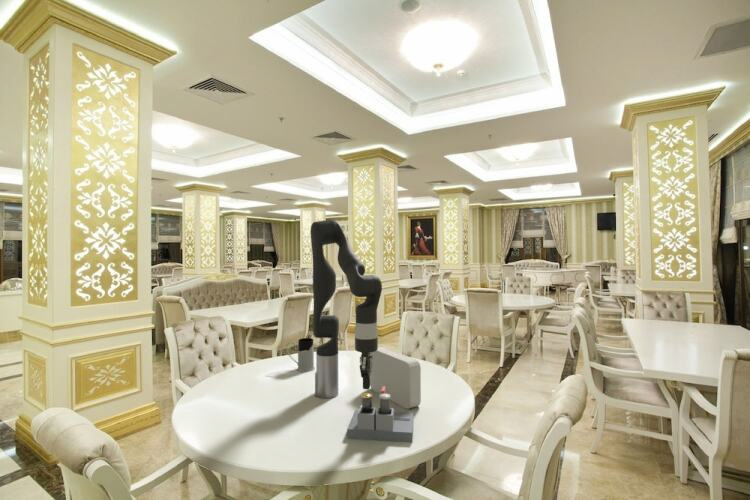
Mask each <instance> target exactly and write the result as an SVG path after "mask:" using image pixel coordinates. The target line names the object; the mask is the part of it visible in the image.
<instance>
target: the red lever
mask: <svg viewBox="0 0 750 500" xmlns="http://www.w3.org/2000/svg"><path fill="white" fill-rule="evenodd" d="M381 394H386V386H383V387H382V391H381ZM381 394H380V395H381Z"/></svg>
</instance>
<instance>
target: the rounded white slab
mask: <svg viewBox="0 0 750 500" xmlns="http://www.w3.org/2000/svg"><path fill="white" fill-rule="evenodd" d="M371 355H373V360H372V369H371V370H372V372H371V376H370V388H371V389H372V391H374V392H376V393H378V395H381V391H382V387H383V386H386V394H389V395H390V396H391V398H390V401H392V402H394V403H395V402H396V403H395V404H397V403H398V404H397V405H399V406H401V407H402V408H404V409H407V410H409V409H414V408H417V407H419V406H420V405H421V401H422V400H421V398H422V397H421V396H422V395H421V394H422V393H421V392H422V391H421V389H422V388H421V384H422V383H421V375H422V373H421V371H422V370H421V369H422V368H421V363H420V362H419V361H418V360H417V359H415V358H413V357H410V356H407V355H405V354H402V353H400V352H397V351H394V350H391V349H388V348H386V347H383V346H382V347H379V346H378V349H377V351H375V352H371Z"/></svg>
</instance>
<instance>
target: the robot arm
mask: <svg viewBox="0 0 750 500" xmlns="http://www.w3.org/2000/svg"><path fill="white" fill-rule="evenodd" d="M310 242H311V243H310V244H311V253H312V293H313V294H312V295H313V296H312V297H313V312H312V334H313V336H314V338H317V339H329V338H330V339H329V340H328V341H327V342H325V343H322V344H320V345H318V346H317V347H316V352H315V353H316V354H315V355H316V357H315V359H316V364H315V365H316V372H315V374H314V396H315V397H318V398H322V399H330V398H331V399H332V398H334V397H336V396H338V395H339V330H340V327H339V326H340V323H339V318H338V316H337V315H334V314H333V315H322V313H323V311H324V308H325V307H326V305H327V304H328V303H329V301H330V300H331V299H332V297H333V296H334V294H335V292H336V289H337V274H336V272H335V270H334V267H332V265H331V264H330V262H329V261H328V260H327V259H326V257H325V254H324V246H326V245H332V244H336V245H337V246H338V252H337V262H338V266H339V268H340V269H341V271H342V272H343V273H344V275H345V277H346V279H347V283H348V287H349V289H350V290H349V291H350V292H351V294H353V296H355V297H356V298H365V300H364V302H362V303H360V304H358V305H356V307H355V325H354V326H355V327H354V350H355V351H356V352H358V353H361V354H360V356H359V363H360V364H359V371H360V377H361V378H362V389H363V390H370V388H371V386H370V376H371V372H372V370H371V369H372V360H373V355H371V352H375V351H377V349H378V348H379V342H378V341H379V337H378V334H379V331H378V330H379V329H378V328H379V327H378V323H377V322H378V306H379V302H380V299H381V296H382V295H381V294H382V291H383V284H382V281H381V279H380V277H379V276H378V275H376V274H375V275H374V274H370V275H369V274H367V275H366V274H365V273H366V267H365V265H364V263H362V260H360V259H359V257H358V256H357V254H356V253H355V252H354V250H353V248H352V246H351V244H350V243H349V240H348V238H347V236H346V233H345V232H344V230H343V228H342V225H340V223H339V222H338V221H337V220H336V219H327V220H318V221H314V222H312V223H311V225H310ZM364 274H365V275H364Z"/></svg>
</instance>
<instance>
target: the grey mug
mask: <svg viewBox="0 0 750 500" xmlns="http://www.w3.org/2000/svg"><path fill="white" fill-rule="evenodd" d="M289 344H293V346H294V350H295V351H297V360H298V361H297V360H296V359H294V358H293V357H292V356H291V354H290V352H289V349H288V345H289ZM296 347H297V346H296V344H295V342H293V341H290V342H288V343H287V344H286V351H287V355H288V356H289V357H290V359H291V360H292V361H294V362H295V363H296V364H297V371H298V372H305V373H306V372H312V371H314V370H315V363H314V361H315V360H314V354H315V353H314V351H315V350H314V349H315V348H314V339H313V338H310V337H308V338H307V337H306V338H305V337H304V338H299V339H298V349H297V348H296Z"/></svg>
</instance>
